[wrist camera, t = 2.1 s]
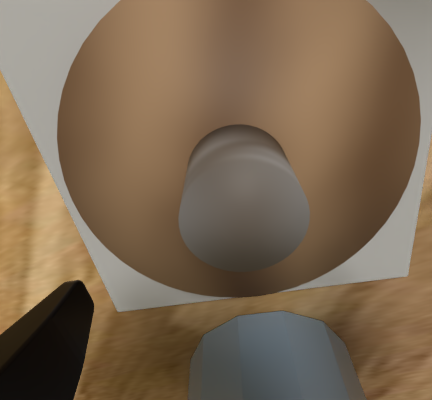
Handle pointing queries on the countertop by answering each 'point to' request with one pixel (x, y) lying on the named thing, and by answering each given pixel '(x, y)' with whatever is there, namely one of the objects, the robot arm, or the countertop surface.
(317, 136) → the lid
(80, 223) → the mat
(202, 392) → the bowl
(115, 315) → the countertop surface
